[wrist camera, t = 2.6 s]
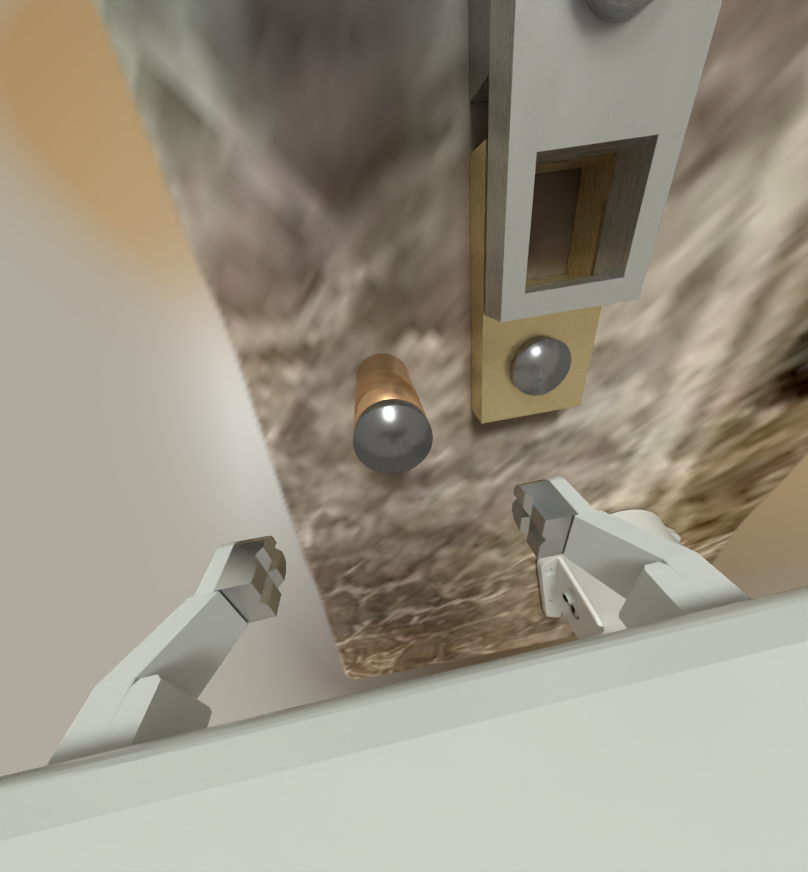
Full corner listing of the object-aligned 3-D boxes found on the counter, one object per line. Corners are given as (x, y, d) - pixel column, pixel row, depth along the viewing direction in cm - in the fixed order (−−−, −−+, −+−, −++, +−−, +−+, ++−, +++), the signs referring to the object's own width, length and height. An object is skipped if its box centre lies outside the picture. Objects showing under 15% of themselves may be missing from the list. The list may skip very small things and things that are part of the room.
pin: (411, 398, 23) (435, 466, 15) (362, 407, 23) (362, 479, 15) (404, 349, 21) (429, 399, 13) (351, 358, 21) (344, 413, 13)
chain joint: (561, 393, 25) (612, 427, 20) (471, 410, 24) (499, 448, 19) (655, -134, 12) (868, -423, 7) (468, -113, 12) (549, -401, 7)
